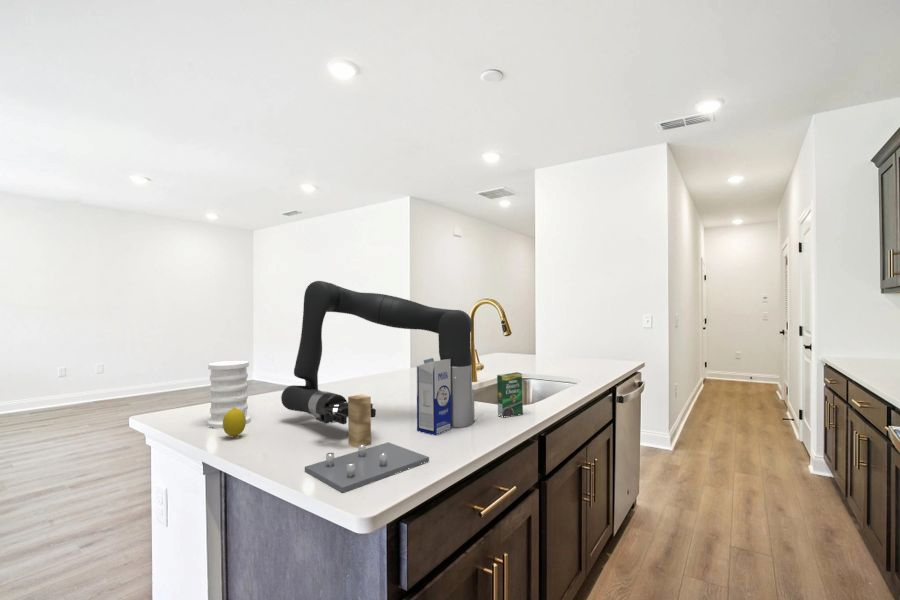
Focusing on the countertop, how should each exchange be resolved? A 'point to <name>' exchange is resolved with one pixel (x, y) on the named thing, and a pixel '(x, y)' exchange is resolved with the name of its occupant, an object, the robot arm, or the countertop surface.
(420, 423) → the milk carton
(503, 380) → the coffee box
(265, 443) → the countertop surface
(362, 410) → the oak block
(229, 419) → the lemon
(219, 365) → the decorative container
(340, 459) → the plate
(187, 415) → the countertop surface
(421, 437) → the countertop surface
